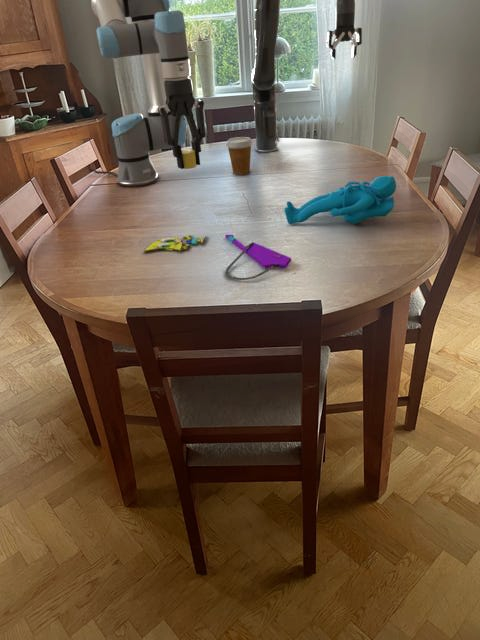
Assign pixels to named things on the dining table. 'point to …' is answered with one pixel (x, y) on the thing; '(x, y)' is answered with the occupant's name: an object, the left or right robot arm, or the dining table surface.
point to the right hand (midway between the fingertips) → (343, 58)
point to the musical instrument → (259, 257)
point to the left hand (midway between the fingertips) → (189, 165)
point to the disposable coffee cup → (240, 154)
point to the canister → (189, 159)
